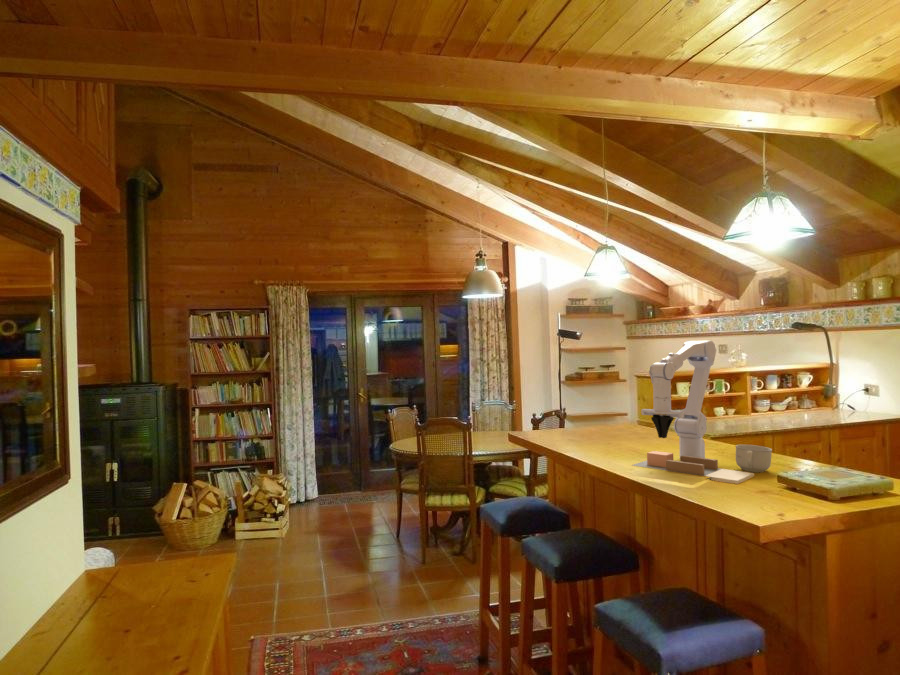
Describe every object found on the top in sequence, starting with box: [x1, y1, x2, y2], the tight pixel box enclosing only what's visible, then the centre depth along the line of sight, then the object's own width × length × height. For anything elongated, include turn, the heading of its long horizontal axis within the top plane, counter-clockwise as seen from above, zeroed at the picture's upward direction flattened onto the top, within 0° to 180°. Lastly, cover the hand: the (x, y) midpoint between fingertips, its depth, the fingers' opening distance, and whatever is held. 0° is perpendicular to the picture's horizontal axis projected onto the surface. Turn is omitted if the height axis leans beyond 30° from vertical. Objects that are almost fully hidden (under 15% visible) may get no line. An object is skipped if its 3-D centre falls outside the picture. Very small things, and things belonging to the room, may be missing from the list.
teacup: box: [735, 444, 773, 473], centre depth 203 cm, size 14×11×8 cm
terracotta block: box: [646, 450, 674, 467], centre depth 211 cm, size 5×7×4 cm
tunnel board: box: [631, 455, 755, 485], centre depth 203 cm, size 14×35×4 cm, turn 45°
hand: (662, 437), depth 210 cm, fingers closed
